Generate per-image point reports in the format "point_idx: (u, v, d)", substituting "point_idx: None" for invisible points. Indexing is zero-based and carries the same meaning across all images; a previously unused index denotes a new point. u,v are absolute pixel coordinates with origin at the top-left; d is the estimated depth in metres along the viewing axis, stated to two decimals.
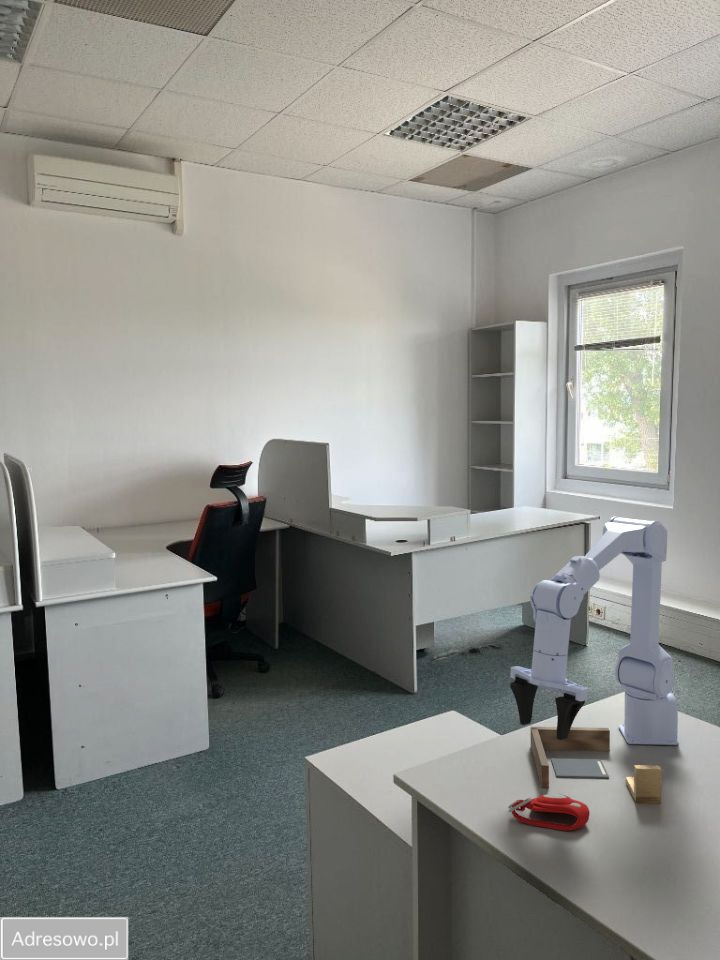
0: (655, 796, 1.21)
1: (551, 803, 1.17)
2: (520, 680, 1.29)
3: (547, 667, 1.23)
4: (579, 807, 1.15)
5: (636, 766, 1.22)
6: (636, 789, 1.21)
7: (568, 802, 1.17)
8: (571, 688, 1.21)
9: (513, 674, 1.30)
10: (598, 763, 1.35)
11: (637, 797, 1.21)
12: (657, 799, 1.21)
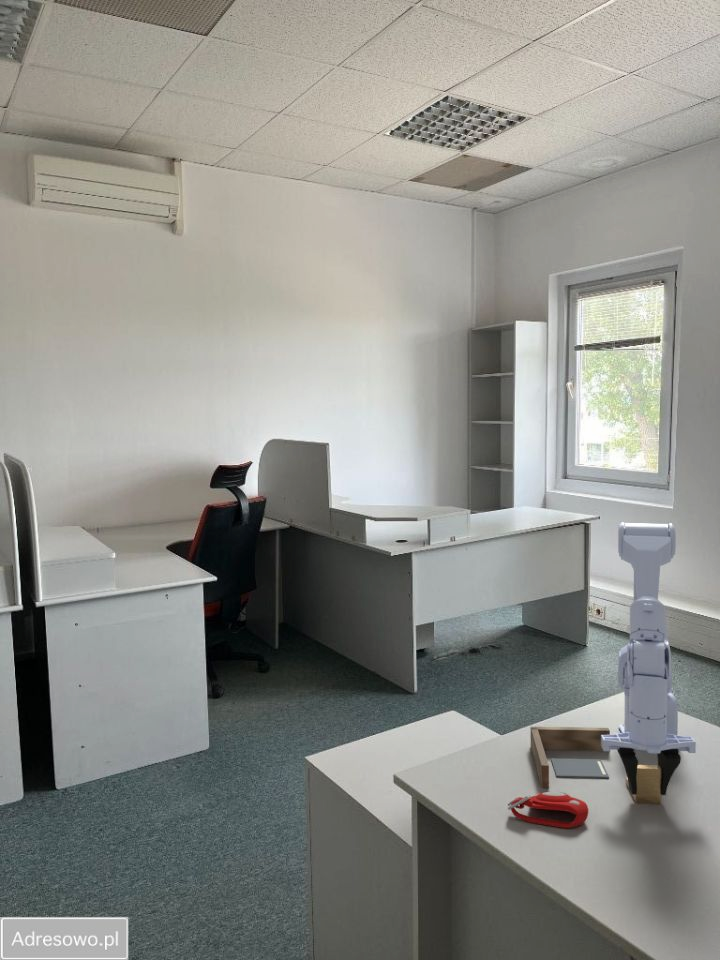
0: (655, 796, 1.21)
1: (550, 801, 1.17)
2: (626, 750, 1.21)
3: (661, 731, 1.18)
4: (577, 804, 1.16)
5: None
6: None
7: (567, 800, 1.18)
8: (685, 743, 1.19)
9: (608, 746, 1.21)
10: (598, 763, 1.35)
11: (637, 797, 1.21)
12: (657, 799, 1.21)
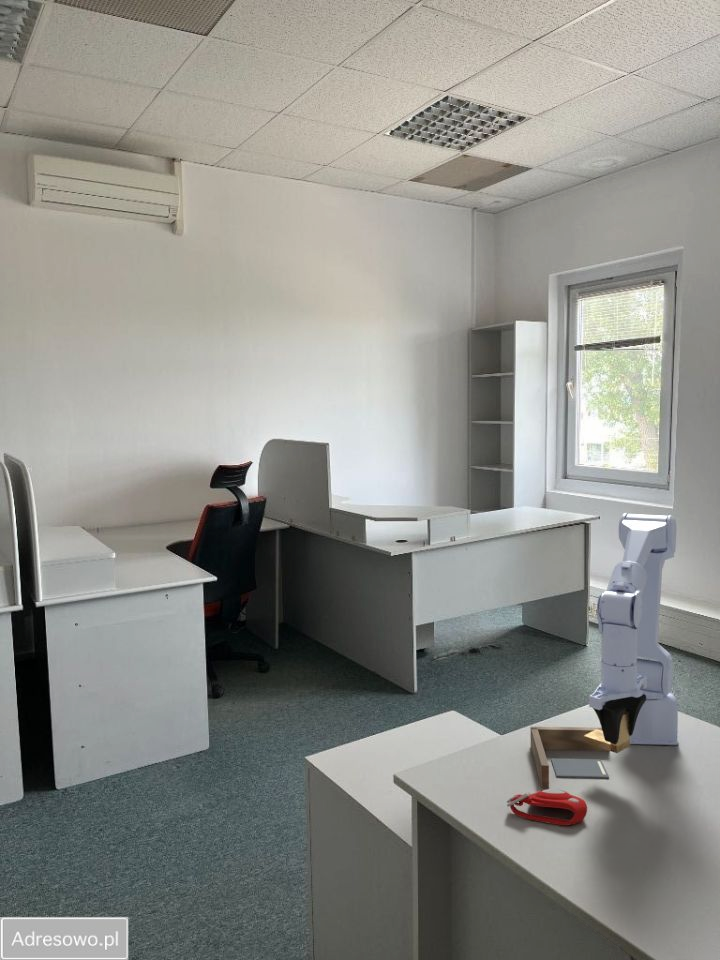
0: (626, 740, 1.27)
1: (549, 798, 1.18)
2: (611, 703, 1.23)
3: (636, 674, 1.25)
4: (576, 802, 1.17)
5: None
6: None
7: (566, 798, 1.18)
8: (643, 681, 1.28)
9: (601, 704, 1.21)
10: (598, 763, 1.35)
11: (617, 747, 1.25)
12: (628, 742, 1.27)
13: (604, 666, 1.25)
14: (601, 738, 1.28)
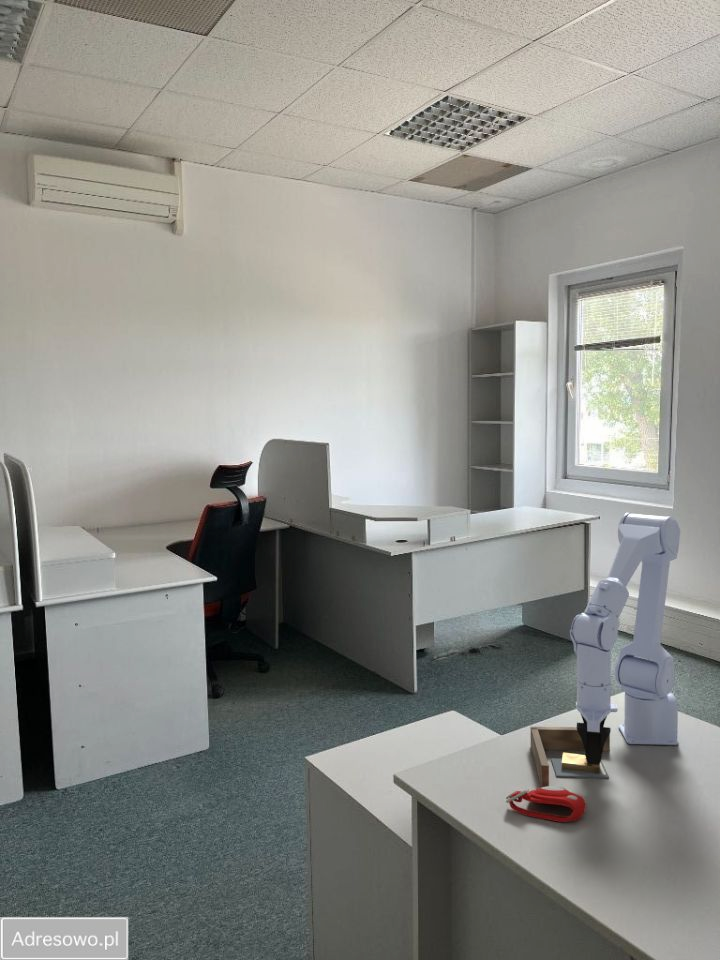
0: None
1: (548, 795, 1.19)
2: None
3: None
4: (575, 799, 1.18)
5: None
6: None
7: (564, 795, 1.19)
8: None
9: (599, 726, 1.25)
10: None
11: (599, 767, 1.31)
12: None
13: (587, 688, 1.29)
14: (578, 761, 1.33)
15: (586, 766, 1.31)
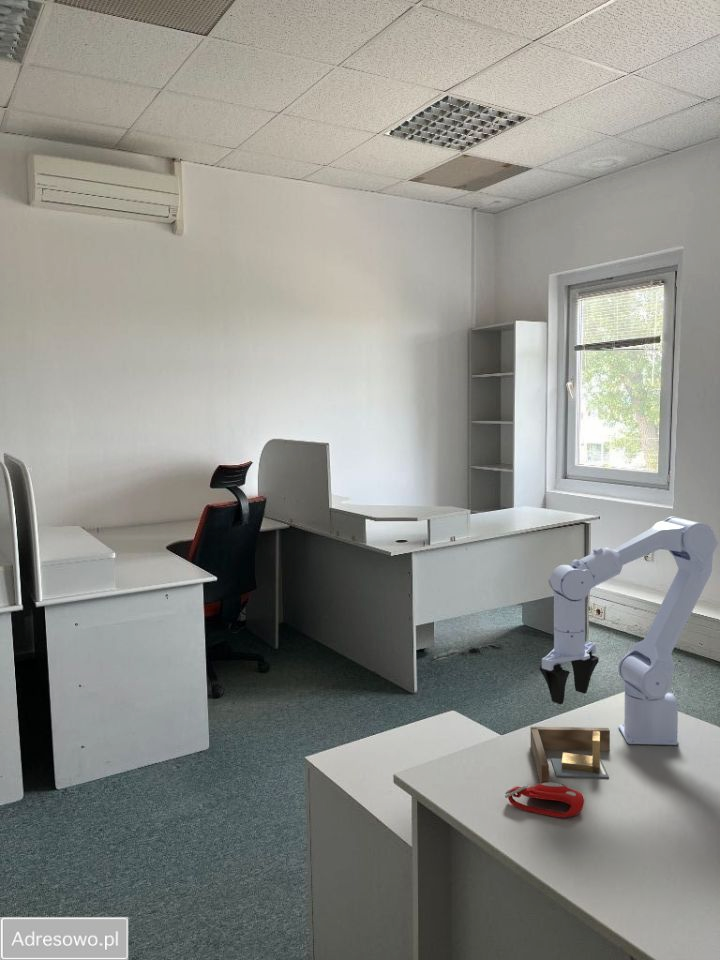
0: None
1: (547, 791, 1.21)
2: (557, 667, 1.38)
3: (584, 640, 1.40)
4: (573, 795, 1.19)
5: (595, 739, 1.31)
6: (599, 760, 1.31)
7: (563, 791, 1.20)
8: (591, 647, 1.44)
9: (552, 666, 1.37)
10: None
11: (599, 767, 1.31)
12: None
13: (556, 633, 1.40)
14: (578, 761, 1.33)
15: (586, 766, 1.31)
